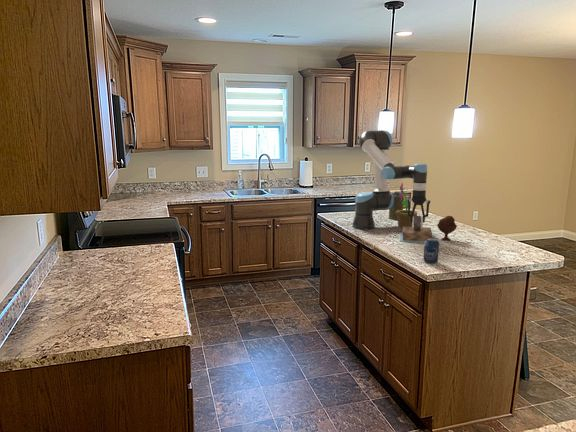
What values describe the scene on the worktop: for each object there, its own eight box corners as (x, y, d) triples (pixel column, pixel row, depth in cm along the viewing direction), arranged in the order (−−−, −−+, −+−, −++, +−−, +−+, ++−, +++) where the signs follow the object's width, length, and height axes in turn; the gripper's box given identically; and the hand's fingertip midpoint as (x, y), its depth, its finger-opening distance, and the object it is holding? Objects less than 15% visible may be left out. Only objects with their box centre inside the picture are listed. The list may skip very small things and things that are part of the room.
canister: (391, 216, 329) (392, 190, 325) (404, 218, 323) (406, 191, 319) (385, 218, 320) (387, 192, 316) (399, 220, 314) (400, 193, 310)
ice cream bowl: (452, 237, 265) (454, 213, 262) (457, 242, 254) (459, 217, 251) (434, 237, 266) (436, 213, 263) (439, 242, 255) (440, 217, 252)
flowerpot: (397, 223, 304) (399, 181, 298) (418, 225, 298) (420, 182, 292) (392, 227, 292) (394, 183, 286) (414, 229, 286) (417, 184, 280)
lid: (402, 240, 258) (403, 218, 256) (402, 233, 274) (403, 213, 271) (431, 241, 254) (433, 219, 252) (429, 235, 270) (431, 214, 267)
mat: (399, 241, 257) (399, 240, 257) (399, 233, 276) (399, 232, 276) (435, 243, 252) (435, 242, 252) (432, 235, 271) (432, 234, 271)
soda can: (424, 263, 215) (425, 240, 212) (422, 259, 221) (424, 237, 219) (438, 264, 213) (440, 241, 211) (436, 260, 220) (438, 237, 218)
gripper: (404, 190, 257) (402, 228, 261) (435, 191, 252) (432, 229, 257) (404, 188, 264) (402, 225, 269) (434, 189, 260) (431, 227, 264)
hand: (417, 227), depth 263 cm, fingers open, 4 cm apart
